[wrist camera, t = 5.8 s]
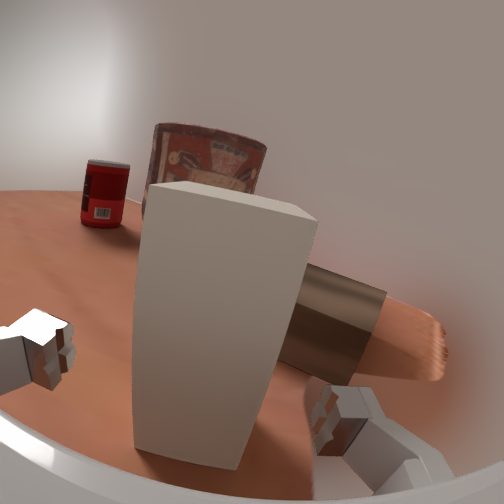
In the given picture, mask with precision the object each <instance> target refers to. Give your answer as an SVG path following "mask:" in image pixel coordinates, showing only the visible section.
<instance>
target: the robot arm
mask: <svg viewBox="0 0 504 504" xmlns="http://www.w3.org/2000/svg"><path fill="white" fill-rule="evenodd" d="M73 336H74V327H73V325H72V324H71V323H69V322H67V321H65V320H62V319H60V318H58V317H55V316H53V315H51V314H48V313H46V312H44V311H41V310H39V309H33V310H32V311H30V312H29V313H27V314H26V315H25V316H23V317H22V318H21V319H19V320H18V321H16V322H15V323H14V324H12V325H11V326H10V327H8V328H7V327H5V326H3V327H0V396H1V395H3V394H6V393H8V392H11V391H13V390H15V389H18V388H20V387H23V386H25V385H28V384H30V383H32V382H34V383H36V384H38V385H40V386H42V387H44V388H46V389H49V390H51V391H53V389H54V388H55V387H56V386H57V385H58V383H59V382H60V381H61V380H62V378H61V374H62V373H66V372H68V371H69V370H70V369H71V367H72V366H73V363H74V360H75V354H76V350H75V345H74V343H73V342H72V340H71V338H72V337H73ZM321 396H322V400H321V401H319V402H318V403H316V404H315V407H314V409H313V411H312V416H311V428H312V431H313V432H315V434H316V435H317V436H316V438H315V440H314V443H315V447H316V452H317V456H342V458H343V460H344V461H345V462H346V463H347V464H348V465H349V466H350V467H351V468H352V469H353V470H354V472H355V473H356V474H357V475H358V476H359V477H360V478H361V479H362V480H363V481H364V482H365V483H366V484H367V486H368V487H369V488H370V489H371V490H372V491H374V494H373V495H372V496H368V497H360V498H350V499H337V500H312V501H291V500H267V499H254V498H244V497H235V496H227V495H220V494H214V493H208V492H202V491H197V490H192V489H187V488H183V487H178V486H174V485H170V484H166V483H162V482H158V481H155V480H151V479H148V478H145V477H141V476H138V475H135V474H132V473H129V472H126V471H123V470H120V469H117V468H114V467H112V466H109V465H106V464H104V463H101V462H99V461H96V460H94V459H92V458H89V457H87V456H85V455H82V454H80V453H78V452H76V451H73V450H71V449H69V448H67V447H65V446H63V445H61V444H59V443H57V442H55V441H53V440H51V439H49V438H47V437H45V436H44V435H42V434H40V433H38V432H36V431H35V430H33V429H31V428H29V427H28V426H26V425H24V424H23V423H21V422H19V421H18V420H16V419H15V418H13V417H12V416H10V415H8V414H7V413H5V412H4V411H2V410H1V409H0V504H504V459H503V460H501V461H499V462H497V463H494V464H492V465H490V466H487V467H484V468H482V469H479V470H476V471H474V472H471V473H468V474H465V475H462V476H459V477H456V478H455V477H454V475H453V473H452V472H451V470H450V468H449V466H448V465H447V462H446V461H445V459H444V457H443V455H442V453H441V452H439V451H438V450H436V449H434V448H433V447H431V446H430V445H428V444H427V443H425V442H424V441H422V440H421V439H419V438H418V437H417V436H415V435H414V434H412V433H411V432H409V431H408V430H406V429H405V428H403V427H402V426H400V425H399V424H398V423H396V422H395V421H393V420H392V419H387V418H386V416H385V414H384V412H383V410H382V408H381V406H380V404H379V402H378V400H377V398H376V396H375V394H374V392H373V390H372V389H371V388H370V387H365V386H355V387H353V386H340V385H329V384H327V385H326V386H325V387H324V388H323V390H322V392H321Z"/></svg>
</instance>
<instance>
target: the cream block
mask: <svg viewBox="0 0 504 504" xmlns="http://www.w3.org/2000/svg"><path fill="white" fill-rule="evenodd" d="M317 226H318V221H317V220H316V219H314V218H313V217H312V216H310V215H309V214H307V213H306V212H305V211H303V210H302V209H300V208H299V207H297V206H296V205H294V204H290V203H285V202H281V201H277V200H273V199H269V198H264V197H260V196H256V195H251V194H247V193H242V192H238V191H233V190H228V189H224V188H219V187H214V186H209V185H204V184H199V183H194V182H189V181H180V182H169V183H159V184H150V185H149V189H148V194H147V200H146V206H145V213H144V219H143V226H142V233H141V241H140V249H139V257H138V266H137V276H136V287H135V300H134V315H133V335H132V415H133V434H134V448H137V449H140V450H143V451H146V452H150V453H153V454H157V455H161V456H164V457H168V458H172V459H177V460H181V461H185V462H190V463H194V464H199V465H205V466H210V467H216V468H222V469H228V470H235V471H236V470H237V467H238V465H239V463H240V460H241V458H242V455H243V453H244V450H245V448H246V445H247V442H248V440H249V437H250V435H251V432H252V429H253V427H254V424H255V421H256V419H257V416H258V413H259V411H260V408H261V405H262V402H263V400H264V397H265V394H266V391H267V388H268V386H269V383H270V380H271V377H272V374H273V371H274V368H275V365H276V362H277V359H278V356H279V353H280V350H281V347H282V344H283V341H284V338H285V335H286V332H287V329H288V326H289V322H290V319H291V316H292V313H293V310H294V306H295V303H296V300H297V296H298V293H299V290H300V286H301V283H302V280H303V276H304V273H305V269H306V266H307V262H308V258H309V255H310V251H311V248H312V244H313V240H314V237H315V233H316V229H317Z"/></svg>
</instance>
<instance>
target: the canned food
mask: <svg viewBox="0 0 504 504" xmlns="http://www.w3.org/2000/svg"><path fill="white" fill-rule="evenodd" d="M129 171H130V165H129V164H125V163H119V162H112V161H103V160H88V164H87V169H86V175H85V182H84V189H83V197H82V206H81V216H80V217H81V222H82V223H83V224H84V225H87V226H90V227H96V228H115V227H118V226H119V225H120V223H121V221H122V215H123V208H124V201H125V195H126V188H127V183H128V177H129Z"/></svg>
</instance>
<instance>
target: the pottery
mask: <svg viewBox="0 0 504 504" xmlns="http://www.w3.org/2000/svg"><path fill="white" fill-rule="evenodd" d="M266 150H267V148H266V146H265V145H264V144H263V143H261V142H259V141H257V140H254V139H252V138H249V137H246V136H243V135H240V134H236V133H232V132H228V131H224V130H220V129H216V128H210V127H206V126H200V125H195V124H186V123H177V122H162V123H159V124H157V125H156V126H155V130H154V136H153V144H152V152H151V158H150V164H149V170H148V176H147V181H146V186H145V191H144V197H143V201H142V220H143V219H144V213H145V206H146V200H147V194H148V189H149V185H150V184H159V183H169V182H180V181H189V182H194V183H199V184H204V185H209V186H214V187H219V188H224V189H228V190H233V191H238V192H242V193H247V194H251V195H253V194H254V190H255V186H256V182H257V179H258V175H259V172H260V169H261V166H262V163H263V160H264V157H265V153H266Z"/></svg>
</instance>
